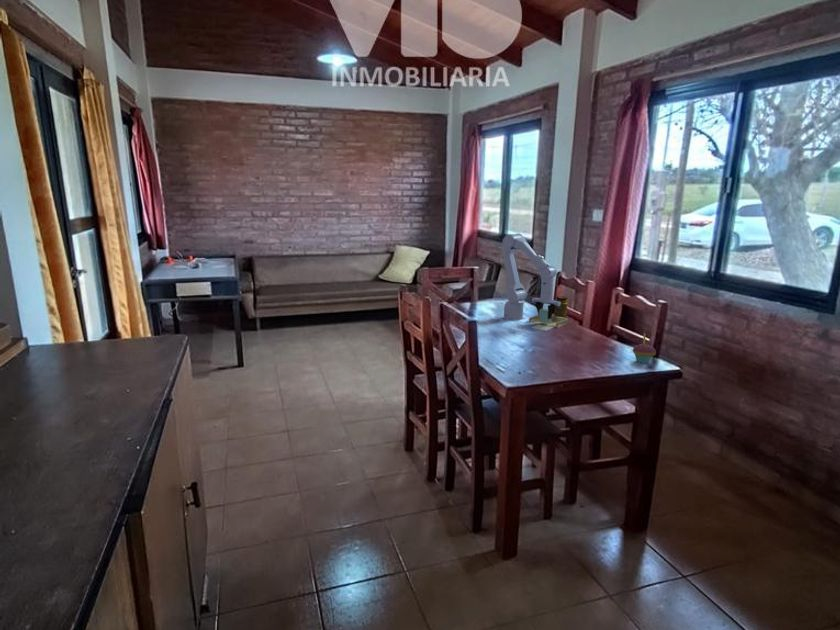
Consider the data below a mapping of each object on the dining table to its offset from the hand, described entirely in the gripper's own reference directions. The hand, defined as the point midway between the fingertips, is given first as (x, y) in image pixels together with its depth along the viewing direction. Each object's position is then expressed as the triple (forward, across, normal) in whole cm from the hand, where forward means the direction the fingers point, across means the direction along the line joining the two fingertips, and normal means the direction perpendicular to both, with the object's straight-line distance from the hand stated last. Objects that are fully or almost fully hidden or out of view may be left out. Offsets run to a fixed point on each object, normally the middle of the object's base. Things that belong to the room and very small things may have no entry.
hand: (544, 317), depth 257 cm
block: (+2, 0, 0) cm, 2 cm away
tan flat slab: (+4, 0, -5) cm, 6 cm away
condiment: (+4, 0, -16) cm, 16 cm away
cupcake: (+4, -55, +23) cm, 60 cm away
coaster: (+4, -2, +6) cm, 8 cm away
